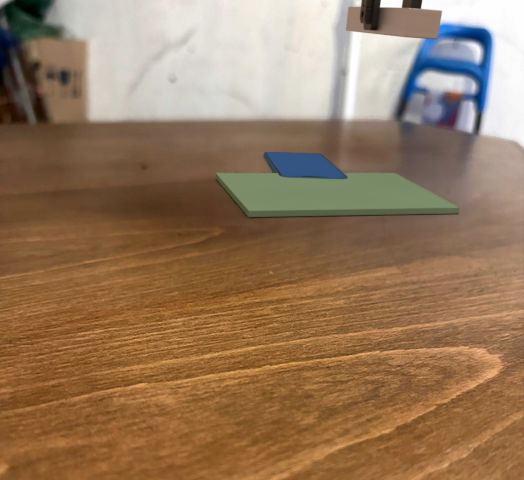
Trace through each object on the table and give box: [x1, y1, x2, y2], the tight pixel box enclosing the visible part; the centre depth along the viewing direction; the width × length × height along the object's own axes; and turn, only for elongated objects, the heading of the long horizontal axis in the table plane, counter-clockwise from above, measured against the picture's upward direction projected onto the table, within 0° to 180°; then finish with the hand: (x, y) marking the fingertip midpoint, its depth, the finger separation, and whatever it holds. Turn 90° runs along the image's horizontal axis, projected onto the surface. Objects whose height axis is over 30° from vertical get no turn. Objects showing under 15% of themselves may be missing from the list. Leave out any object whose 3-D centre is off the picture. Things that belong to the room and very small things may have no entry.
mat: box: [215, 172, 460, 218], centre depth 65 cm, size 20×14×1 cm
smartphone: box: [263, 151, 348, 179], centre depth 75 cm, size 7×1×15 cm
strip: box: [345, 6, 443, 40], centre depth 70 cm, size 16×4×2 cm, turn 14°
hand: (388, 30), depth 71 cm, fingers closed on strip, 3 cm apart
